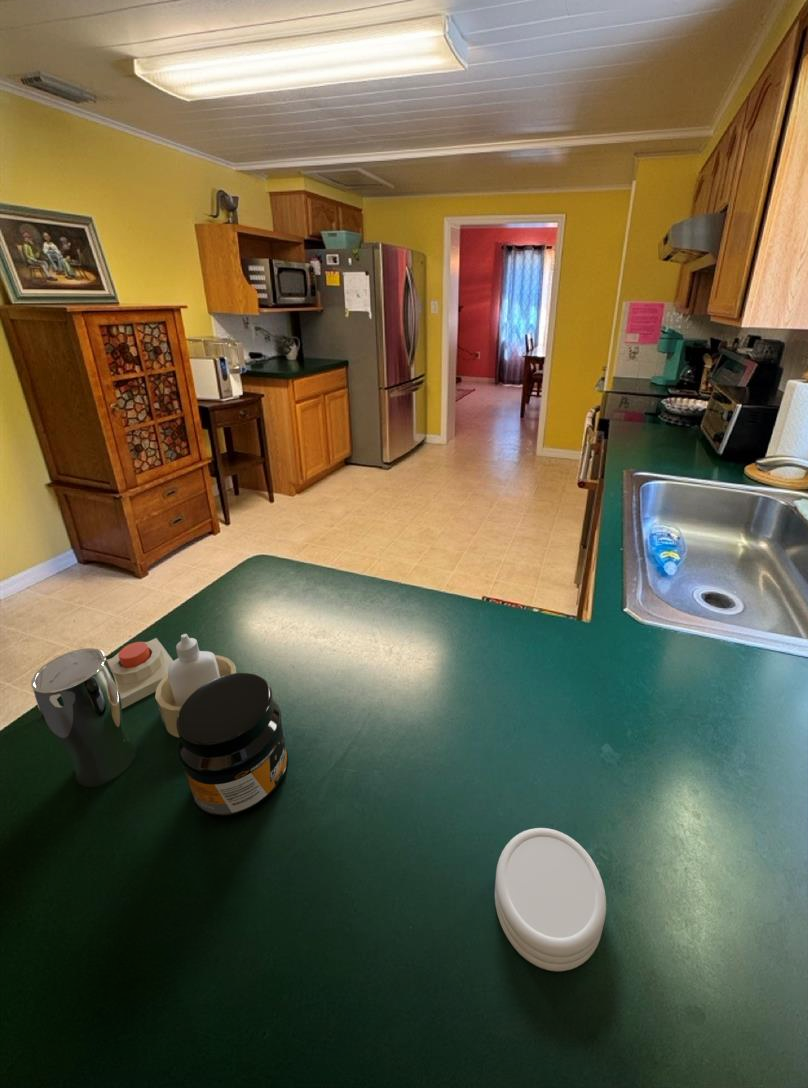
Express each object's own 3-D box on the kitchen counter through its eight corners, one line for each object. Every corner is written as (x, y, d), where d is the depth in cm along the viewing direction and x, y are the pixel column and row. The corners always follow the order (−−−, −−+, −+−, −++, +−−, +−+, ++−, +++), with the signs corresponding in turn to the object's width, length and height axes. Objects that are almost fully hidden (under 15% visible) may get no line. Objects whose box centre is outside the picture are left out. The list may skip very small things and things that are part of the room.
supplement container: (251, 839, 50) (231, 760, 45) (171, 809, 52) (145, 731, 48) (307, 752, 59) (295, 679, 54) (237, 731, 62) (220, 660, 57)
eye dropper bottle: (191, 691, 67) (172, 623, 62) (230, 693, 67) (214, 625, 62) (173, 717, 63) (152, 646, 58) (214, 719, 63) (196, 648, 58)
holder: (153, 709, 65) (145, 681, 63) (223, 671, 71) (217, 645, 69) (180, 752, 59) (171, 723, 57) (253, 706, 65) (248, 679, 63)
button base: (100, 672, 71) (94, 654, 70) (159, 646, 76) (153, 628, 75) (120, 710, 65) (113, 691, 63) (182, 678, 70) (177, 659, 69)
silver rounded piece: (88, 803, 53) (44, 704, 47) (60, 771, 56) (17, 676, 51) (151, 755, 58) (119, 661, 53) (123, 729, 62) (90, 638, 56)
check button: (118, 659, 69) (115, 650, 69) (145, 647, 72) (142, 638, 71) (125, 672, 67) (122, 662, 66) (153, 658, 69) (150, 649, 69)
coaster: (623, 957, 41) (629, 934, 40) (514, 989, 39) (517, 967, 38) (572, 837, 50) (576, 815, 49) (482, 858, 48) (483, 836, 47)
